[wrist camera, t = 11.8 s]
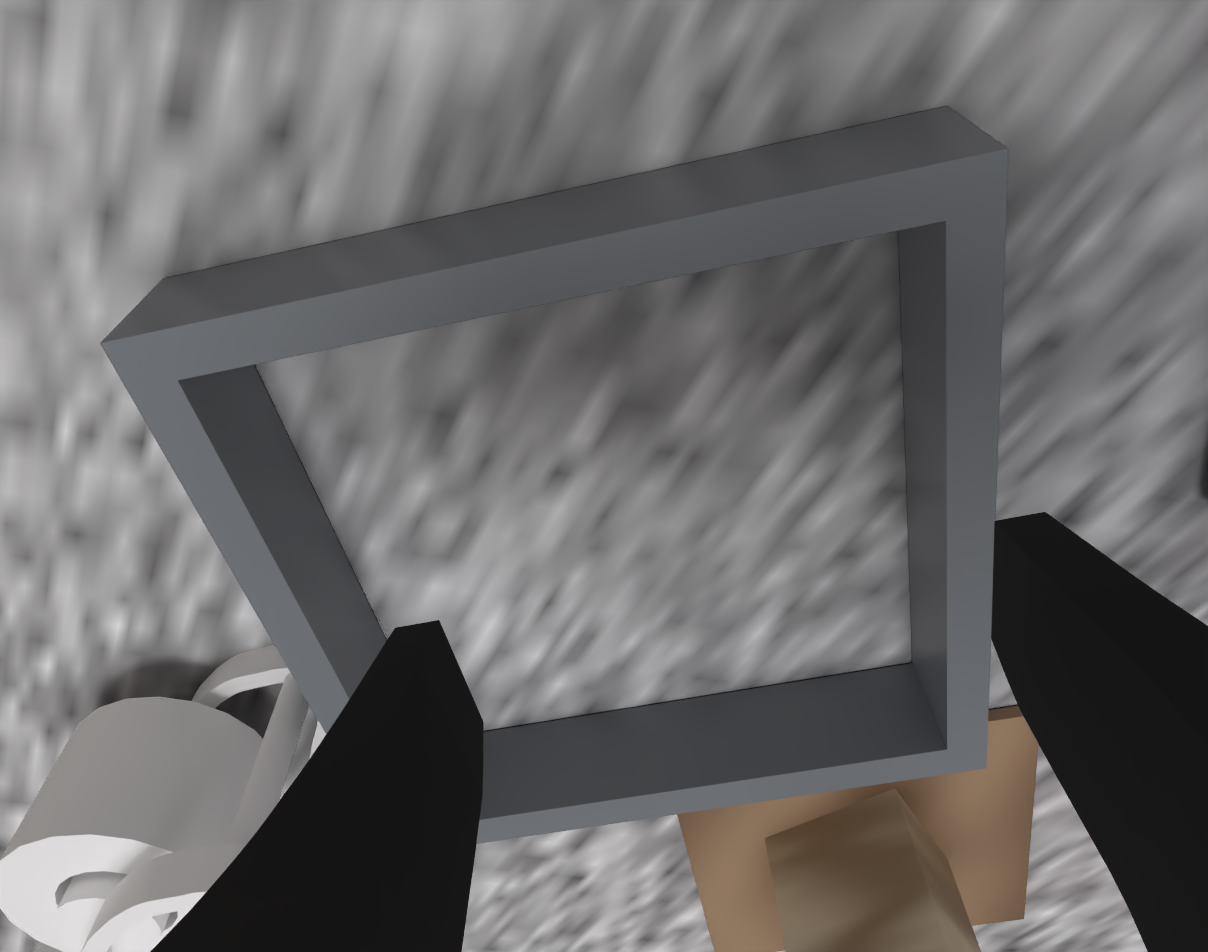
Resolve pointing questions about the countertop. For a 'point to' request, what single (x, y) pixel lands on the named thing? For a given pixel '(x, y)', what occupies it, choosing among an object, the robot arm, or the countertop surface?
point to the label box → (867, 883)
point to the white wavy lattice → (149, 811)
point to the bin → (588, 266)
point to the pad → (941, 803)
